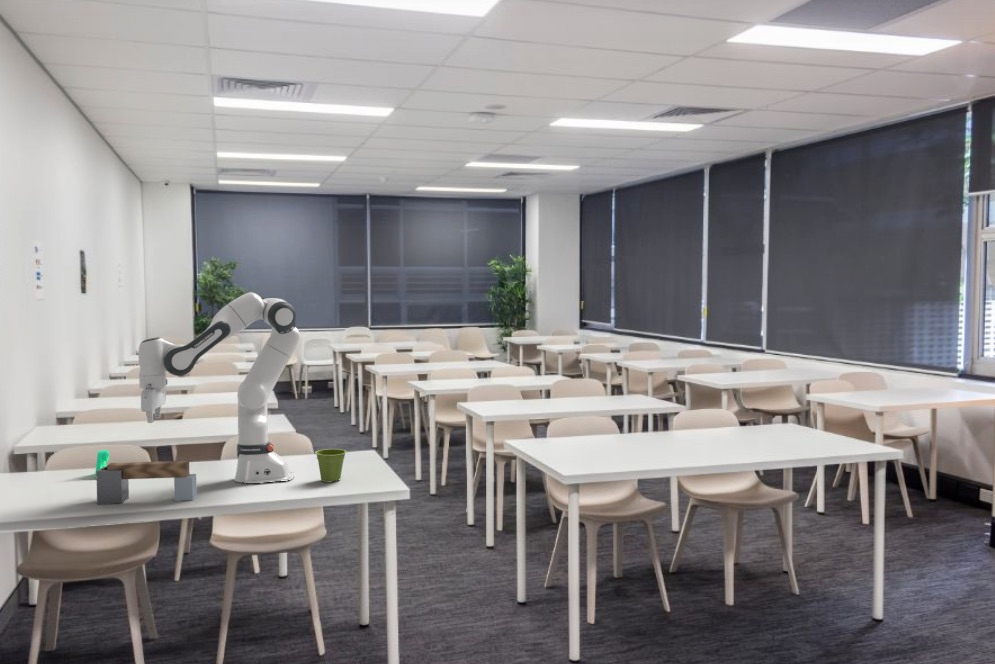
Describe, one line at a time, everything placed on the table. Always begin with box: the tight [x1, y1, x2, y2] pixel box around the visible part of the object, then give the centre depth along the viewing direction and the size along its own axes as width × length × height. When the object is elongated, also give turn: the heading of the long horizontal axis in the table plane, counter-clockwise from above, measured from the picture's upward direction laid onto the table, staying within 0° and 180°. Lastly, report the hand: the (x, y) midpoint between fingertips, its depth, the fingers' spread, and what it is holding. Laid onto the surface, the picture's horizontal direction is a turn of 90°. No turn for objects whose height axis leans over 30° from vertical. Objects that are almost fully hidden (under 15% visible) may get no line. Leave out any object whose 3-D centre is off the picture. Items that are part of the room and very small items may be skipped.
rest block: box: [173, 473, 198, 502], centre depth 274 cm, size 6×6×8 cm
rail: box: [106, 460, 190, 480], centre depth 272 cm, size 26×4×5 cm, turn 99°
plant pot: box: [314, 448, 347, 482], centre depth 301 cm, size 12×12×11 cm
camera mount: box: [94, 449, 110, 478], centre depth 309 cm, size 12×8×10 cm, turn 15°
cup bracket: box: [95, 466, 130, 505], centre depth 270 cm, size 8×8×12 cm
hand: (154, 420), depth 283 cm, fingers open, 8 cm apart
